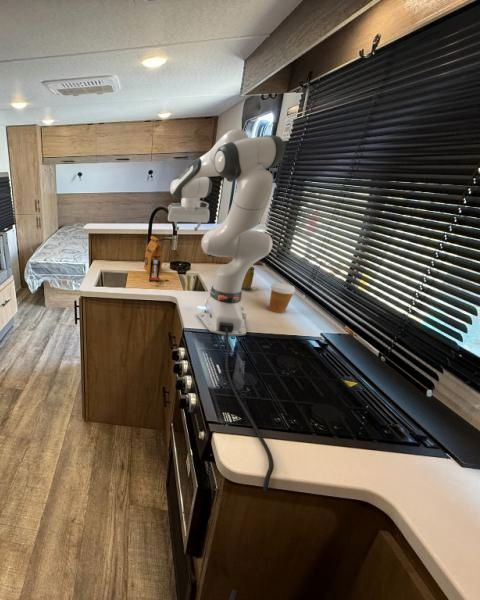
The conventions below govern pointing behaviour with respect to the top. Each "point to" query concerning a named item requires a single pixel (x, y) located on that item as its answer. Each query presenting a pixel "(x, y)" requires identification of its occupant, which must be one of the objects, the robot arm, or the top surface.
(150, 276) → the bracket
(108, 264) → the top surface
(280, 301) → the disposable coffee cup
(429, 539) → the top surface
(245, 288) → the condiment
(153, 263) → the lever
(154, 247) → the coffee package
